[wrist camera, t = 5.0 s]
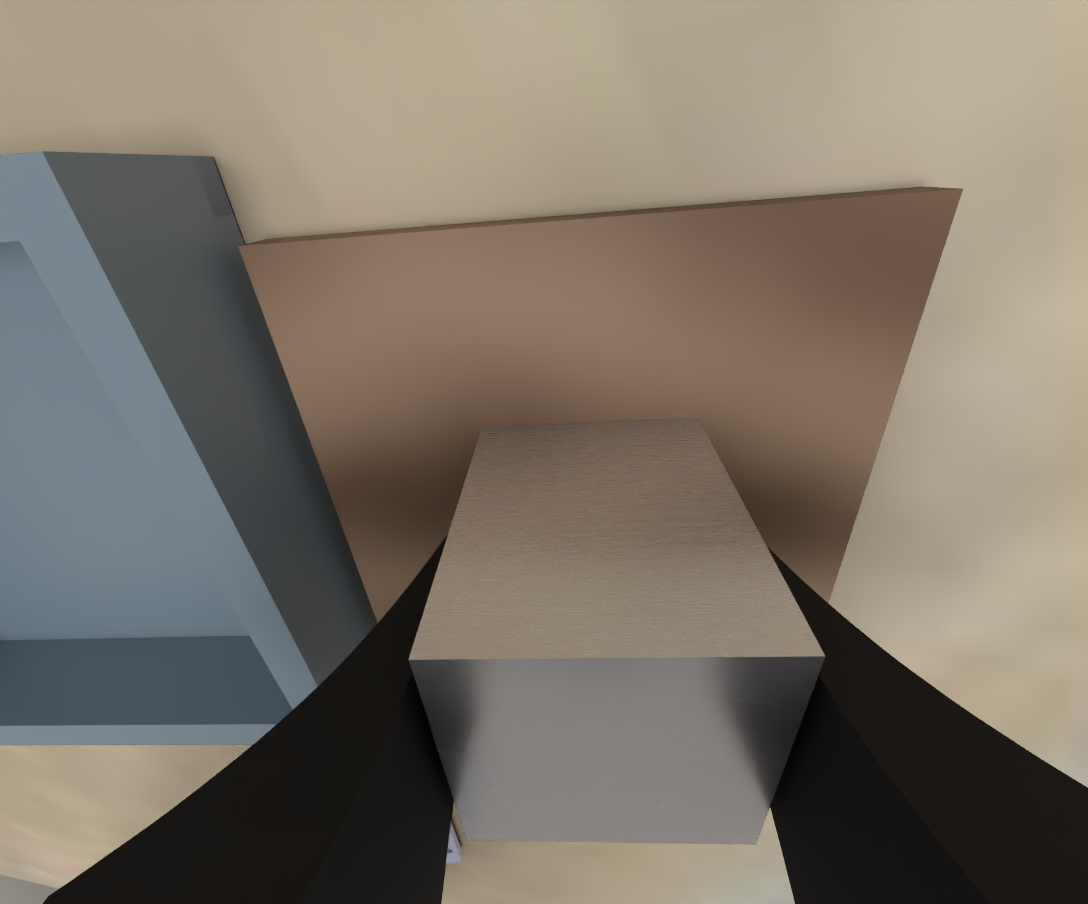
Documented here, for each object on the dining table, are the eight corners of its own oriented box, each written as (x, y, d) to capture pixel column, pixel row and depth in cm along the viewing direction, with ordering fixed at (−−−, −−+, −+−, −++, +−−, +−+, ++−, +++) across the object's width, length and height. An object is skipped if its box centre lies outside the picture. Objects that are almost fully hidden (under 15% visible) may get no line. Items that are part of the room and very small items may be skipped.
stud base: (793, 640, 16) (858, 773, 12) (405, 647, 17) (363, 773, 13) (925, 186, 9) (1146, 197, 6) (265, 239, 10) (109, 277, 6)
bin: (387, 637, 16) (347, 743, 13) (10, 644, 17) (-107, 745, 14) (212, 156, 9) (41, 151, 6) (-413, 214, 10) (-822, 234, 7)
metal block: (697, 417, 11) (825, 656, 5) (679, 575, 13) (755, 844, 8) (482, 425, 11) (407, 659, 6) (504, 579, 13) (466, 839, 8)
